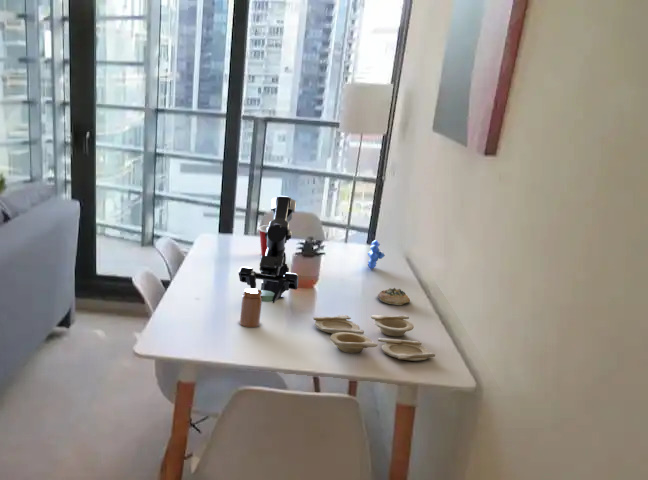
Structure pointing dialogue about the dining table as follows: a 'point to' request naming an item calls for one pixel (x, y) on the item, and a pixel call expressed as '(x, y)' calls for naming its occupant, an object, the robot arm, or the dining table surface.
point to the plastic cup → (263, 239)
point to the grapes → (374, 254)
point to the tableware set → (388, 325)
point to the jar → (251, 308)
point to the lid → (267, 296)
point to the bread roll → (393, 296)
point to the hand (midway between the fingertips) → (262, 300)
